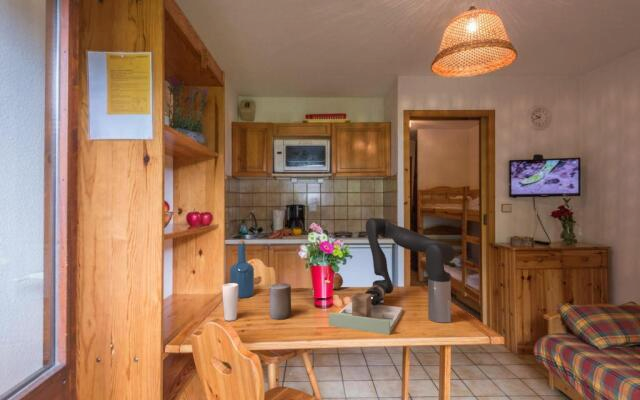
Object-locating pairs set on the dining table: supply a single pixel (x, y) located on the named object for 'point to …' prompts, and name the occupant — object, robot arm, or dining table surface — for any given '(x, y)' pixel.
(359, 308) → the walnut block
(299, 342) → the dining table surface
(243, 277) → the wine bottle
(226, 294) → the drinking glass
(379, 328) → the shallow open tray
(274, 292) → the pillar candle
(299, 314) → the dining table surface
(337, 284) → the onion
